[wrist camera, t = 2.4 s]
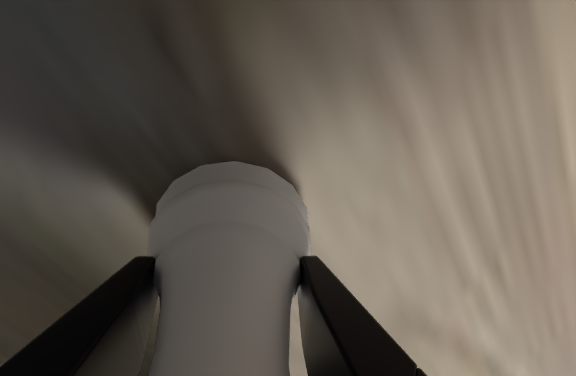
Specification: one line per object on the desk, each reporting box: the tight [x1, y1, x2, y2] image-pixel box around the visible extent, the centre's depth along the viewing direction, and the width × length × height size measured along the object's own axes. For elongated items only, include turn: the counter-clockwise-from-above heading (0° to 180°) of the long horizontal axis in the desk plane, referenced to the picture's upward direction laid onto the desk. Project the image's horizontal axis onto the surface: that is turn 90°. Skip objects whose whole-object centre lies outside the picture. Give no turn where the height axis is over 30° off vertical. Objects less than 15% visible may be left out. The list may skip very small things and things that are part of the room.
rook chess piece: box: [147, 161, 311, 376], centre depth 6 cm, size 4×4×8 cm
